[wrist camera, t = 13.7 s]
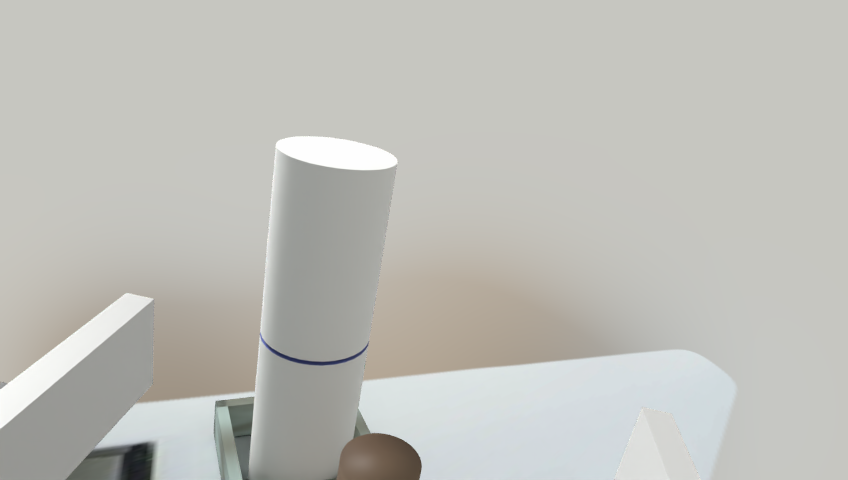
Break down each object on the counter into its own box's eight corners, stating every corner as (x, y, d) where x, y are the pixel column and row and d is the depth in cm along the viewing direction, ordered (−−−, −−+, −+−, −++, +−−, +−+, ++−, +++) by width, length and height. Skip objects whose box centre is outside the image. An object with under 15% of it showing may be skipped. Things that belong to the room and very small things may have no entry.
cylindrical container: (227, 497, 42) (251, 148, 33) (278, 436, 48) (309, 130, 39) (320, 533, 40) (372, 178, 31) (360, 465, 47) (412, 155, 38)
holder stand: (450, 654, 34) (499, 479, 29) (259, 719, 29) (282, 524, 25) (343, 415, 52) (363, 282, 47) (213, 432, 47) (221, 287, 42)
